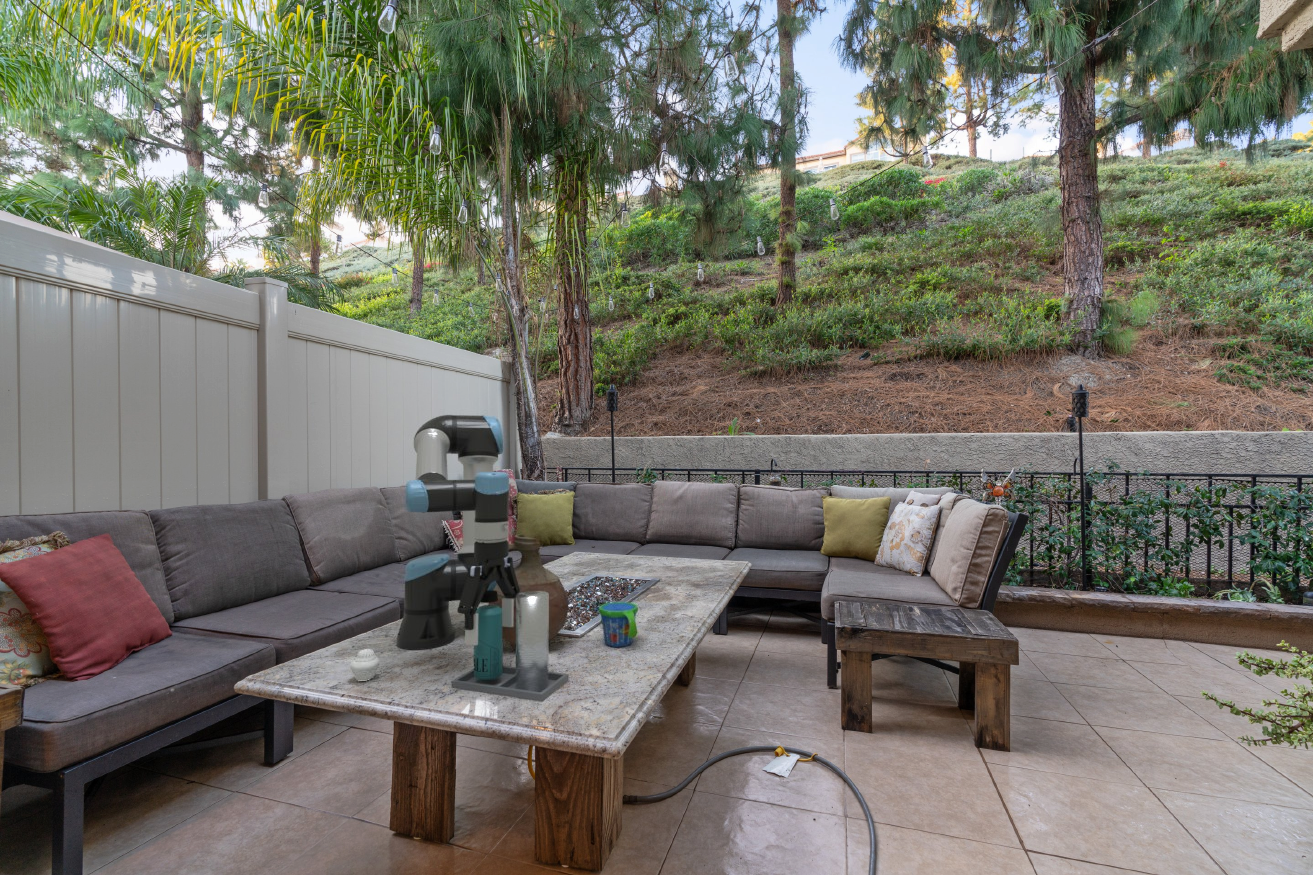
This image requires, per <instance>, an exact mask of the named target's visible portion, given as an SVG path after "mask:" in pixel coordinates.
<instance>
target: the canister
mask: <svg viewBox="0 0 1313 875" xmlns="http://www.w3.org/2000/svg"><path fill="white" fill-rule="evenodd" d="M549 641H550V640H549V593H548V592H544V591H527V592H522V593H519V594H517V595H516V648H515V667H516V689H520V690H527V691H534V692H541V691H543V690H545V689H546V688H547V687H548V672H549V664H550V663H549V660H550V659H549V653H550V650H549V648H550V647H549V646H550V645H549V644H550V642H549Z"/></svg>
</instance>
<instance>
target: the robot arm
mask: <svg viewBox="0 0 1313 875" xmlns="http://www.w3.org/2000/svg"><path fill="white" fill-rule="evenodd" d="M413 449H414V451H415V453H416V464H415V465H416V466H415V467H416V468H415V479H414V480H409V481H406V484H405V502H404V503H405V510H406V511H407V512H409V513H422V514H425V513H426V514H427V513H440V512H441V513H443V512H445V513H446V512H462V547H461V548H460V549H459V550H458V551H457V554H456V555H457V558H455V559H454V558H453V559H451V557H450V555H449V554H448V553H444V554H432V555H426V556H423V557H419V558H416V559H413V560H411V561H409V562H408V563H407V564H406V565H405V569H404V578H403V581H404V601H403V605H404V606H403V607H404V608H403V617H402V619H401V620H402V621H401V624H400V626H399V630H398V632H397V635H396V646H397V647H398V648H400V649H405V650H425V649H426V650H427V649H432V648H434V649H435V648H437V647H441V646H444V645H447V644H449V643H452V642H453V641H454V640H455V638H456V630H455V627H454V625H453V621H452V617H451V614H450V610H449V604H450V602H456V601H457V602H458V601H459V603H458V607H457V609H456V610H457V613H458V614H462V615H464V634H465V635H464V639H465V640H464V644H465V645H470V646H474V645H477V644H478V613H476V610H477V609H478V608H479V607H480V606H479V605H480V604H481V602H480V601H481V599H482V597H483V594H484V592H485V591H488V590H494V588H495V586H496V585H497V584H498V586H499V588H500V589H501V591H502V593H503V595H504V596H505V597H506V598H502V610H503V613H502V626H504V627H513V617H514V598H516V595H517V594H518V593H519V592H520V588H519V585H518V581H517V578H516V575H515V571H514V559H513V557H511V556H509V553H510V552H509V541H508V540H507V539H508V538H509V530H510V529H509V528H510V526H509V518H510V517H509V515H510V514H509V510H510V509H509V506H510V500H509V499H510V489H511V485H510V476H509V473H507V472H503V471H499V472H498V471H494V465H495V464H496V462H498V460H499V455H503V452H504V436H503V430H502V425H501V422H500V421H499V419H498V418H497V417H495V416H490V415H489V416H487V415H485V414H484V415H483V414H482V415H464V414H462V415H460V414H459V415H455V414H453V415H452V414H445V415H444V414H443V415H439V416H436V417H433V418H431V419H429V420H427V421H426V422H425V423H423V424H422V425H421V426H420V427H419V428H418V430H417V431H416V432H415V434H414V437H413ZM449 454H451V455H453V454H454V455H457V460H458V462H459V463H460V464H461V465H462V466H463V467H462V468H463V471H462V474H463V475H462V476H463V477H462V479H449V477H448V476H449V475H448V456H447V455H449ZM512 587H514V588H512Z"/></svg>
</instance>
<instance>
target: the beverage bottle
mask: <svg viewBox="0 0 1313 875" xmlns="http://www.w3.org/2000/svg"><path fill="white" fill-rule="evenodd" d="M496 601H498V595H497V591H493V590H488V591H485V592H484V594H483V597H482V599H481V601H480V604H484V605H481V606H478V608H477V610H476V613H478V644H477V645H473V660H472V661H473V662H472V664H473V668H472V669H473V670H474V671H473V672H474V673H473V674H474V676H475V678H477V679H481V680H487V679H493V678H497V677H499V676H501V675H502V672H503V666H504V646H503V645H504V643H503V641H504V640H503V639H502V613H503V610H502V609H501V608H500V607H499V606H498V605H488V603H491V602H496Z"/></svg>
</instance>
